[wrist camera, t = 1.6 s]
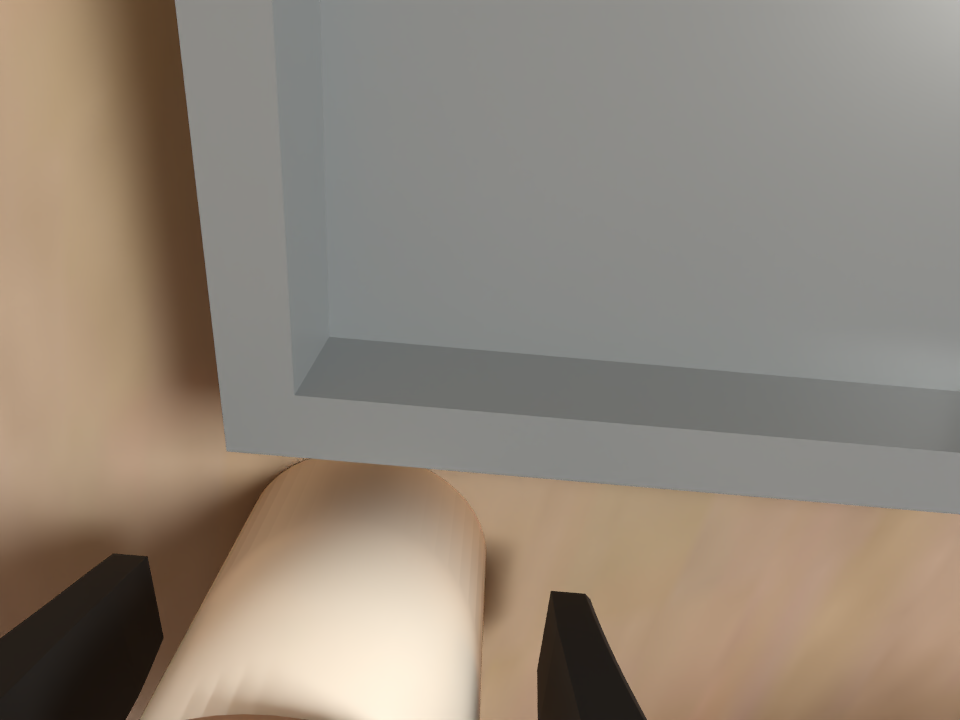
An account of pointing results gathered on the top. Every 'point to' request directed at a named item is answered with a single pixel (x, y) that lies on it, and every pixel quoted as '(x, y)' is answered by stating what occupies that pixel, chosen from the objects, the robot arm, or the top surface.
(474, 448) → the tray
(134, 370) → the top surface
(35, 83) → the top surface
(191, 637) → the cup
